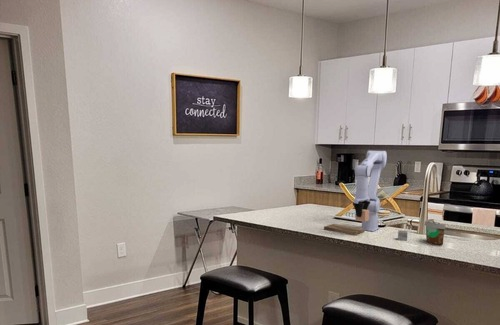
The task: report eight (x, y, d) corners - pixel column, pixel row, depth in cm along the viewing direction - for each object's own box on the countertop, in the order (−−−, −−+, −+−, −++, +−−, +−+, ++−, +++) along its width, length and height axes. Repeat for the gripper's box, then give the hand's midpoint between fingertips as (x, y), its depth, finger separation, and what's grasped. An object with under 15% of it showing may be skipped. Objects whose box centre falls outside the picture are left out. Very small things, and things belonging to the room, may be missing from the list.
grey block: (397, 238, 186) (398, 230, 186) (406, 239, 184) (407, 231, 184) (398, 240, 182) (398, 232, 182) (407, 241, 181) (407, 232, 180)
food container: (419, 239, 185) (420, 218, 184) (432, 239, 184) (433, 219, 184) (430, 246, 172) (431, 224, 172) (444, 246, 172) (445, 224, 172)
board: (333, 226, 209) (333, 223, 209) (364, 232, 197) (364, 229, 197) (323, 229, 202) (324, 226, 202) (355, 235, 190) (355, 232, 190)
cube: (359, 218, 195) (359, 208, 195) (368, 219, 192) (369, 210, 192) (355, 219, 191) (355, 210, 191) (365, 221, 188) (365, 211, 188)
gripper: (363, 191, 183) (362, 219, 184) (375, 188, 194) (374, 214, 195) (350, 189, 188) (349, 217, 188) (362, 187, 199) (361, 213, 200)
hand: (361, 215), depth 192 cm, fingers closed on cube, 5 cm apart
